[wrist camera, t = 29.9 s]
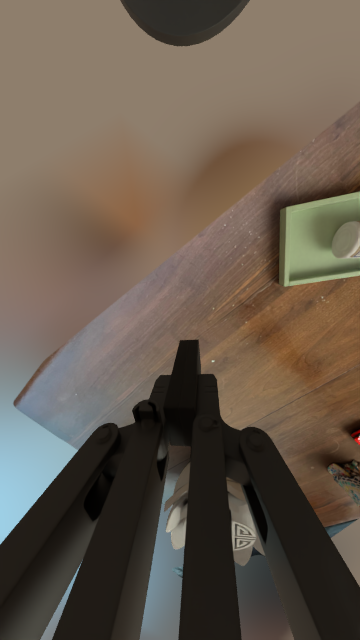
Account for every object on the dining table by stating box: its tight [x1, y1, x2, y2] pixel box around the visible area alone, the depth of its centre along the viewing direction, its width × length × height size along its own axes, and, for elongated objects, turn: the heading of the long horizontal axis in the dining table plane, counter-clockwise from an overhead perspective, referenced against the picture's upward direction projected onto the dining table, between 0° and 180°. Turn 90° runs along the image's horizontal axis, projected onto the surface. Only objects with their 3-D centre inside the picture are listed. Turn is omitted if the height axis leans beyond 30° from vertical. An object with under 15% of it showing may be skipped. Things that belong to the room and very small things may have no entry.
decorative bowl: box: [164, 463, 265, 566], centre depth 49 cm, size 30×30×15 cm
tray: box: [279, 191, 360, 287], centre depth 29 cm, size 20×13×2 cm, turn 100°
